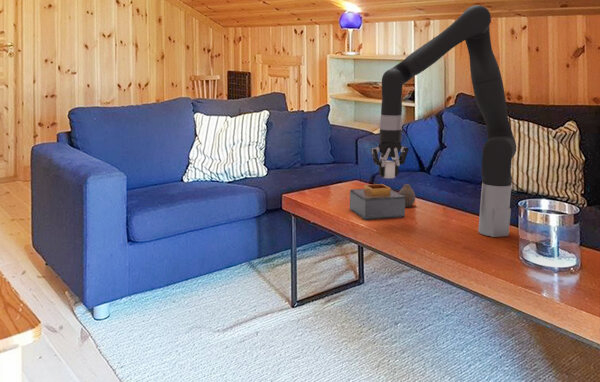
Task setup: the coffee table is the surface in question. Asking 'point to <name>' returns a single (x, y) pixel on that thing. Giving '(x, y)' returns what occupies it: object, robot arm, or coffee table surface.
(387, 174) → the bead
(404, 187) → the vase
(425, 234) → the coffee table surface
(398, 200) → the grey box with opening
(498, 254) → the coffee table surface
